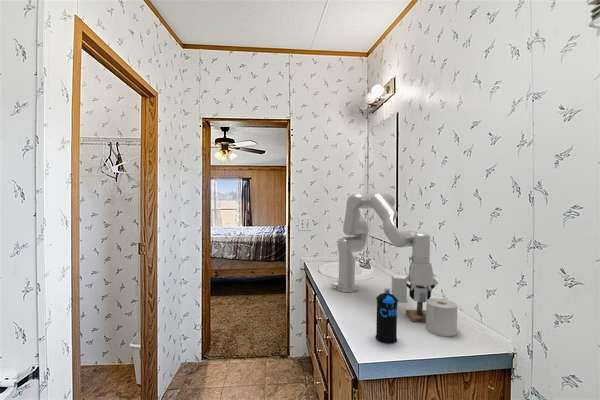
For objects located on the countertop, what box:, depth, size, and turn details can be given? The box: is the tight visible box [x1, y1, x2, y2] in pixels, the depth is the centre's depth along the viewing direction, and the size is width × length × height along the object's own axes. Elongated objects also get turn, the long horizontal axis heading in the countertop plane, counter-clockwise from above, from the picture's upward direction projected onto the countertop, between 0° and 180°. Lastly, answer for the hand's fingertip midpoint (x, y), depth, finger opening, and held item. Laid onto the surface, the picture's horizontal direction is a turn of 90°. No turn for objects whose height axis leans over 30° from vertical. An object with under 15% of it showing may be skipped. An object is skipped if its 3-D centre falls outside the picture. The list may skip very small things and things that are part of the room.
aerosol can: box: [375, 287, 399, 344], centre depth 120 cm, size 8×8×20 cm
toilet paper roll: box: [425, 297, 458, 337], centre depth 129 cm, size 12×12×12 cm
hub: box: [412, 285, 428, 303], centre depth 141 cm, size 6×6×6 cm
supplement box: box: [390, 274, 408, 303], centre depth 166 cm, size 7×7×13 cm
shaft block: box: [405, 301, 426, 324], centre depth 141 cm, size 10×10×8 cm
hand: (419, 298), depth 141 cm, fingers closed on hub, 6 cm apart
